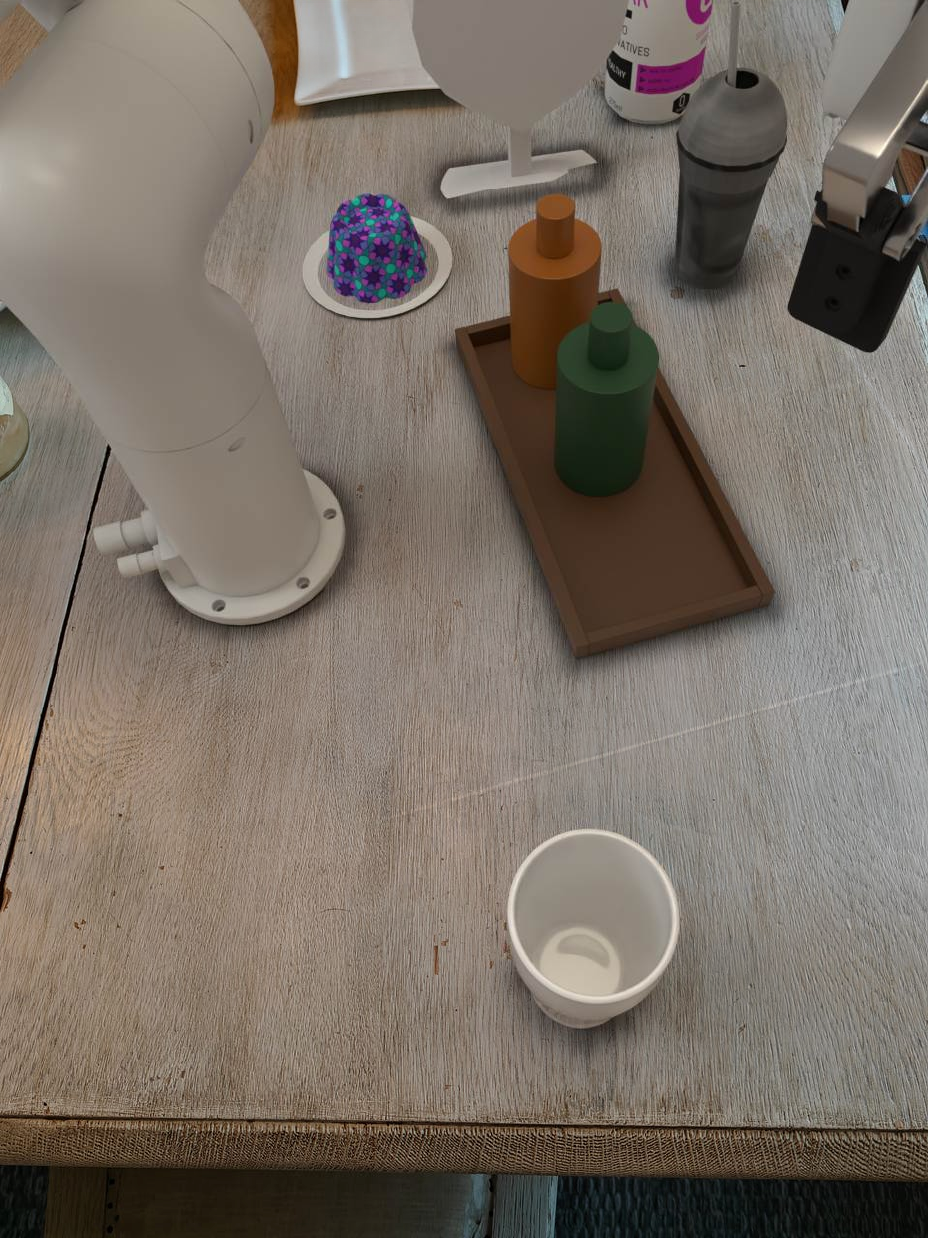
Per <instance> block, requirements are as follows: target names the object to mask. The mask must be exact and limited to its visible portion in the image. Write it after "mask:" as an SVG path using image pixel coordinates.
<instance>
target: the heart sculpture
mask: <svg viewBox="0 0 928 1238" xmlns="http://www.w3.org/2000/svg"><path fill="white" fill-rule="evenodd" d="M628 3H629V0H407V8H408V14H409V19H410V24H411V30H412V33H413V38H414V41H415V42H414V43H415V45H416V48H417V52H418V55H419V60H420V63H421V67H422V68H423V69H424V70H425V71H426V72H427V74H428V75H429V76H430V77H431V79H432V80H433V81H434V83H435V84H436V85H437V87H439V89H440V91H442V92H443V94H444V96H445V95H446V96H447V97H449V98H450V99H452V100H453V101H455V102H457V103H458V104H460V105H461V106H463V107H465V108H466V109H468V110H469V111H471V112H472V113H474V114H476V115H479V116H481V117H484V118H486V119H489V120H492V121H493V122H496V123H498V124H501V125H503V126H506V127H507V158H508V159H506V160H499V161H492V162H485V163H478V164H470V165H464V166H463V165H462V166H457V167H450V168H448V169H447V171H446V173H445V174H444V176H443V178H442V180H441V183H440V188H439V189H440V191H441V193H442V194H443V196H444V197H445V198H446V199H448V200H449V199H452V198H456V197H461V196H464V195H469V194H472V193H473V194H474V193H477V192H481V191H484V190H488V189H489V190H498V189H500V190H501V189H507V188H513V187H521V186H527V185H535V184H541V183H548V182H553V181H555V180H557V179H559V178H561V177H562V176H565V175H567V174H569V170H572V169H576V168H580V167H585V166H588V165H593V164H597V163H598V162H597V160H596V159H595V158H593V157H592V156H591V155H590V154H589V153H587V152H586V151H584V150H583V149H577V150H571V151H563V152H562V151H561V152H556V153H549V154H541V155H535V156H534V155H533V156H532V127H534V125H537V123H539V122H540V121H541V120H543V119H544V118H545V117H547V116H548V115H549V114H551V113H553V112H554V111H556V110H557V109H558V108H559V107H561V106H563V105H564V104H565V103H567V101H569V100H570V99H573V97H574V96H575V95H576V94H577V93H578V92H579V91H581V90H582V89H583V87H585V86H586V85H587V84H588V83H589V82H590V81H591V80H593V78H595V77H596V75H597V74H599V72H600V71H601V69H602V68H603V66H604V65H605V63H606V62H607V58H608V57H609V55H610V54H611V52H612V50H613V49H614V47H615V46H616V44H617V42H618V41H619V39H620V38H621V33H622V29H623V25H624V20H625V16H626V12H627V7H628Z"/></svg>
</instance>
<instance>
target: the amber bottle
mask: <svg viewBox="0 0 928 1238" xmlns="http://www.w3.org/2000/svg"><path fill="white" fill-rule="evenodd" d="M516 229H517V230H515V231H514V233H513V234H512V235H511V237H510V239H509V242H508V245H507V258H508V259H507V260H508V291H509V294H508V295H509V316H510V328H511V360H512V366H513V369H514V370H515V372H516V374H517V375H518V376H519V377H520V378H521V379H522V380H523V381H525V382H526V383H528V384H530V385H532V386H535V387H538V388H542V389H556V372H557V352H558V348H559V345H560V343H561V342H562V340H563V339H564V337H565V336H566V335H567V334H568V333H569V332H570V331H572V330H573V329H574V328H576V327H578V326H580V325H582V324H584V323H587V322H590V314H591V312H592V310H593V309H594V308H595V307H596V306H598V294H599V293H600V281H601V280H600V278H601V263H602V253H603V252H602V251H603V244H602V240H601V238H600V235H599V234H598V232H597V231H596V230H595V229H594V228H593V226H591V225H590V224H589V223H587V222H585V221H583V220H581V219H578V218H576V203H575V202H574V200H573V199H572V198H571V197H570V196H569V195H566V194H562V193H550V194H547V195H544V196H542V197H541V198H540V199H539V200H538V201H537V203H536V206H535V218H534V219H532V220H530V221H528V222H526V223H524V224H522V225H521V226H520V227H518V228H516Z"/></svg>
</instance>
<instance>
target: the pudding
mask: <svg viewBox="0 0 928 1238" xmlns="http://www.w3.org/2000/svg"><path fill="white" fill-rule="evenodd" d="M420 236H422V237H424V239H426V240H427V241H428V242H429V244H431V246H432V247H433V248H434V250H435V252H436V255H437V261H438V266H437V271H436V274H435V276H434V278H433V280H432V282H431V283H430V285H429V286H427V288H426V289H425V290H424V291H422V293H420V294H418V295H417V296H416V297H415V298H413V299H410V300H409V301H408V302H405V303H402V304H400V305H397V306H393V307H390V308H383V309H367V310H366V309H358V308H353V307H349V306H346V305H343V304H341V303H339V302H338V301H335V299H333V298H331V297H330V296H329V295H328V294H327V293H326V292H325V290H324V289H323V286H321V283H320V280H319V273H318V272H319V267H320V263H321V260H322V258H323V257H324V255H325V254H326V252H327V263H326V264H327V265H326V273H327V276H328V278H330V279H331V280H333V288H334V290H335V292H336V293H337V294H339V295H341V296H343V297H355V298H356V300H357V301H358V302H360V303H365V304H376V303H379V302H381V301H382V300H384V299H391V300H396V299H399V298H403V297H404V296H406V295H407V294H409V293H410V292H411V290H412V287H413V285H415V284H417V283H421V282H422V281H423V280H424V279H425V277H426V276H427V273H428V267H427V266H426V265H427V264H426V263H425V260H426V259H427V258H428V255H427V251H426V250H425V246H424V244H423V242H422V240H421V237H420ZM452 251H453V250H452V248H451V245H450V243H449V241H448V239H447V238H446V236H445V235H444V233H442V232H441V231H440V230H439V229H438V228H436V227H435V226H434V225H433V224H431V223H429V222H427V221H426V220H423V219H420V218H418V217H416V216H411V215H410V212H409V210H408V209H407V208H406V207H405V206H404V205H403V204H402V203H401V202H398V201H396V199H395V198H394V197H393V196H391V195H389V194H385V193H379V194H375V195H374V194H372V193H361V194H359V195H357V196H356V197H355V198H354V199H347V200H346V201H344V202H342V203H341V204H339V206H338V207H337V209H336V213H335V214H334V215H333V216H332V218H331V221H330V224H329V229H328V230H327V231H325V232H324V233H322V234H321V235H320V236H319V237H318V238H317V239H316V240H315V241H314V242H313V244H312V245H311V246H310V248H309V249H308V250H307V253H306V255H305V257H304V260H303V265H302V268H301V269H302V280H303V283H304V287H305V288H306V290H307V292H308V293H309V295H310V296H311V297H312V299H314V301H316V302H317V303H318V304H319V305H320V306H322V307H324V308H326V309H327V310H329V311H332V312H334V313H336V314H339V315H343V316H346V317H350V318H351V317H352V318H357V319H358V318H360V319H378V318H386V317H392V316H395V315H396V316H397V315H399V314H402V313H405V312H408V311H410V310H413V309H415V308H417V307H419V306H420V305H422V304H425V303H426V302H427V301H428V300H430V299H431V298H432V297H433V296H435V295H436V294H437V293H438V292H439V291H440V290H441V289H442V288H443V286H444V285H445V283H446V282H447V280H448V279H449V277H450V274H451V271H452V268H453V253H452Z"/></svg>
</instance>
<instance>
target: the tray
mask: <svg viewBox="0 0 928 1238" xmlns="http://www.w3.org/2000/svg"><path fill="white" fill-rule="evenodd" d="M606 302H617V303H620V304H623V305H625V306H626V307H628V305H627V303H626V302H625V300H624V298H623V296H622V294H621V292H620V290H619V289H618V288H612V289H608V290H605V291H601V292H599V294H598V305H600V304H602V303H606ZM632 324H633V325H636V326H637V327H638V325H637V323H636V321H635V319H634V318H633V320H632ZM454 334H455V335H454V337H455V345H456V347H457V350H458V353H459V355H460V358H461V361H462V363H463V366H464V368H465V371H466V374H467V376H468V379H469V381H470V383H471V387H472V389H473V392H474V395H475V398H476V400H477V402H478V405H479V408H480V411H481V414H482V416H483V418H484V421H485V424H486V426H487V429H488V432H489V434H490V437H491V440H492V442H493V445H494V448H495V450H496V453H497V455H498V458H499V461H500V463H501V466H502V468H503V471H504V473H505V477H506V479H507V481H508V484H509V487H510V490H511V493H512V495H513V498H514V501H515V503H516V505H517V508H518V510H519V513H520V515H521V519H522V522H523V524H524V526H525V530H526V532H527V534H528V537H529V540H530V543H531V545H532V548H533V550H534V553H535V555H536V558H537V560H538V563H539V566H540V569H541V572H542V574H543V576H544V579H545V582H546V585H547V587H548V589H549V592H550V595H551V598H552V600H553V603H554V605H555V608H556V611H557V614H558V616H559V619H560V621H561V624H562V627H563V630H564V632H565V635H566V637H567V640H568V642H569V645H570V648H571V650H572V653H573V656H574V659H575V660H578V659H582V658H585V657H589V656H592V655H596V654H600V653H604V652H607V651H610V650H614V649H617V648H621V647H624V646H628V645H632V644H636V643H638V642H642V641H646V640H649V639H653V638H657V637H660V636H663V635H667V634H671V633H674V632H677V631H681V630H685V629H688V628H692V627H696V626H700V625H702V624H707V623H710V622H715V621H718V620H721V619H724V618H727V617H731V616H734V615H738V614H741V613H745V612H749V611H753V610H756V609H760V608H764V607H766V606H770V605H771V602H772V600H773V598H774V595H775V594H776V593H775V592H776V591H775V589H774V587H773V584H772V583H771V581H770V579H769V577H768V576H767V574H766V572H765V570H764V568H763V566H762V564H761V562H760V560H759V558H758V556H757V555H756V552H755V550H754V548H753V547H752V544H751V542H750V541H749V539H748V537H747V536H746V532H745V531H744V529H743V527H742V525H741V524H740V522H739V520H738V518H737V516H736V514H735V512H734V510H733V508H732V506H731V504H730V502H729V500H728V499H727V497H726V495H725V493H724V491H723V489H722V487H721V485H720V483H719V481H718V479H717V477H716V475H715V473H714V471H713V470H712V467H711V466H710V464H709V461H708V460H707V458H706V456H705V454H704V452H703V450H702V448H701V446H700V444H699V443H698V441H697V439H696V436H695V434H694V432H693V431H692V429H691V428H690V425H689V424H688V421H687V419H686V418H685V415H684V413H683V412H682V409H681V408H680V406H679V404H678V402H677V400H676V397H674V394H673V392H672V391H671V388H670V386H669V385H668V383H667V381H666V379H665V377H664V375H663V373H662V371H661V369H660V367H659V366H658V370H657V376H656V383H655V389H654V396H653V402H652V409H651V415H650V421H649V428H648V434H647V441H646V447H645V454H644V460H643V466H642V470H641V473H640V475H639V477H638V479H637V480H636V481H635V482H634V483H633V484H632V485H631V486H630V487H629V488H627V489H626V490H624V491H622V492H620V493H618V494H615V495H611V496H604V497H594V496H587V495H583V494H580V493H578V492H576V491H574V490H572V489H570V488H569V487H568V486H567V485H565V484H564V483H563V482H562V480H561V479H560V478H559V476H558V474H557V472H556V469H555V465H554V448H555V410H556V389H542V388H538V387H535V386H532V385H530V384H528V383H526V382H525V381H523V380H522V379H521V378H520V377H519V376H518V375H517V374H516V372H515V370H514V369H513V366H512V360H511V328H510V315H507V316H502V317H498V318H494V319H490V320H486V321H482V322H479V323H474V324H470V325H466V326H462V327H457V328H455V329H454Z"/></svg>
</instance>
